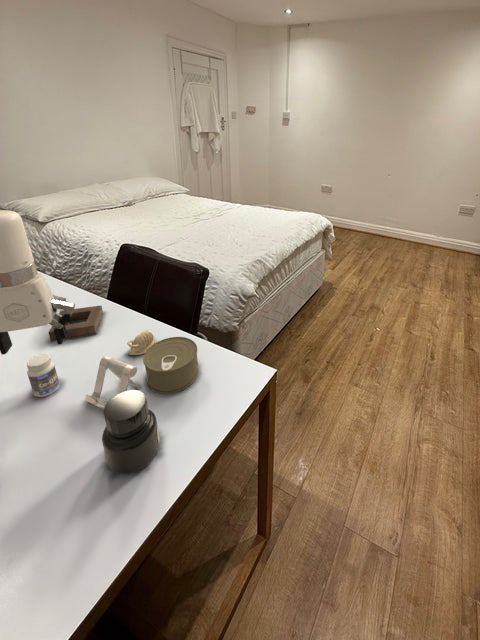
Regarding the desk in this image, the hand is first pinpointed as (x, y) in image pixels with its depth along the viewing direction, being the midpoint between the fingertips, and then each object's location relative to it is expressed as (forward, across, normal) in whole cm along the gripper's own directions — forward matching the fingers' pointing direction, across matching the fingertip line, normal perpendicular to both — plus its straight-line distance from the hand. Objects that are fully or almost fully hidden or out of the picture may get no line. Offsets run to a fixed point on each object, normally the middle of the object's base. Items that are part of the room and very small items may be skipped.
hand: (35, 345), depth 69 cm
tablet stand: (+13, +14, -7) cm, 20 cm away
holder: (+12, 0, +24) cm, 27 cm away
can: (+13, +26, -4) cm, 30 cm away
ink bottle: (+13, +19, -22) cm, 32 cm away
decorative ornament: (+13, +18, +8) cm, 24 cm away
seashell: (+12, -11, +37) cm, 41 cm away
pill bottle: (+13, 0, 0) cm, 13 cm away
